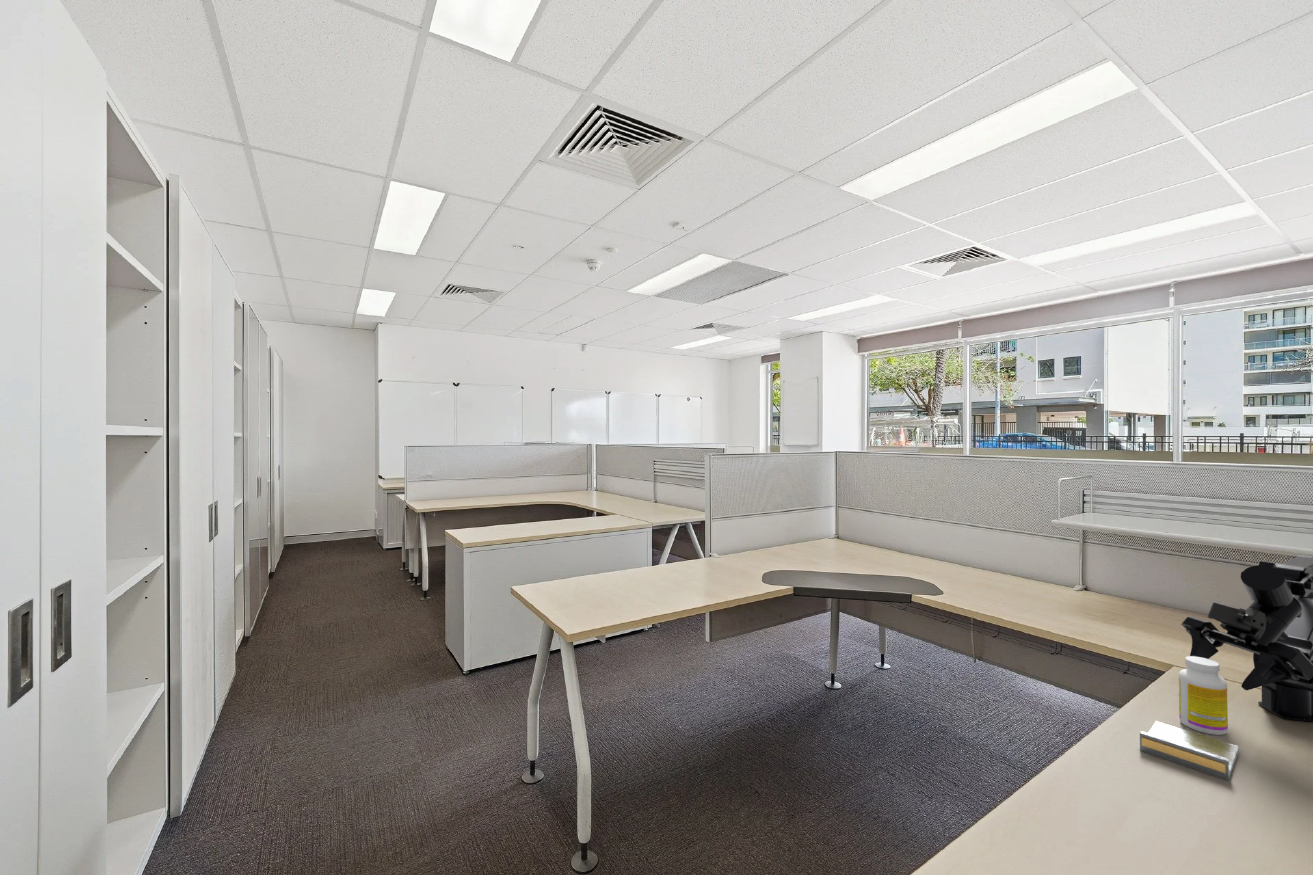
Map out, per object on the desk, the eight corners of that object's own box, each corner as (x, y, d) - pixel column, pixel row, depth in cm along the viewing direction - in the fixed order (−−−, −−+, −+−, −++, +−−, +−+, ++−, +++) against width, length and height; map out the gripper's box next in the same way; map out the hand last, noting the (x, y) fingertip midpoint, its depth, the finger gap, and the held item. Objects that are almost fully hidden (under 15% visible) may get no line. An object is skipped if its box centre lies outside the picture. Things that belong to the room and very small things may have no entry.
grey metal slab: (1156, 726, 105) (1155, 709, 105) (1238, 751, 97) (1238, 733, 97) (1139, 751, 97) (1139, 733, 97) (1228, 781, 89) (1227, 761, 89)
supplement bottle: (1238, 738, 101) (1237, 669, 101) (1196, 734, 102) (1195, 666, 102) (1209, 719, 108) (1208, 655, 108) (1170, 716, 109) (1169, 652, 109)
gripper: (1188, 577, 115) (1141, 631, 114) (1301, 604, 96) (1245, 669, 95) (1223, 613, 115) (1176, 667, 114) (1341, 647, 97) (1286, 712, 96)
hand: (1215, 677), depth 105 cm, fingers open, 9 cm apart
